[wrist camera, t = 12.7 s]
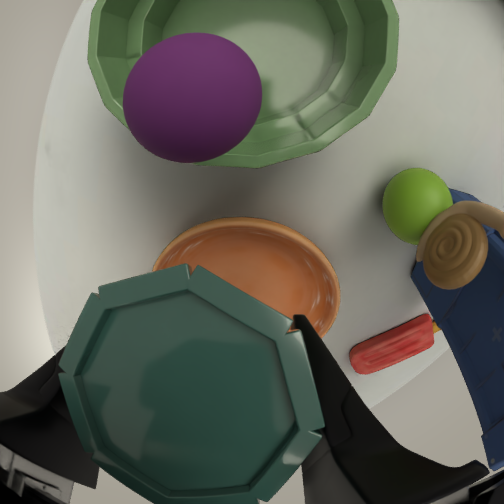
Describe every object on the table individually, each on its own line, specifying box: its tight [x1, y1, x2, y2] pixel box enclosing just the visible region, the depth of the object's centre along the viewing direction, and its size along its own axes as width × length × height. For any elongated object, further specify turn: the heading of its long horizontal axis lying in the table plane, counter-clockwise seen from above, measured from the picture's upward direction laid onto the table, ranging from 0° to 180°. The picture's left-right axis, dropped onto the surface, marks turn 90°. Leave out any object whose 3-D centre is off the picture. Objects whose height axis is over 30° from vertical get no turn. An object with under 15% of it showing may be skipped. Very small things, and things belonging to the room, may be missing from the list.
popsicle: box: [349, 314, 441, 374], centre depth 28 cm, size 6×1×15 cm
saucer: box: [152, 217, 340, 338], centre depth 24 cm, size 16×16×3 cm
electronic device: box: [411, 188, 504, 471], centre depth 13 cm, size 10×5×20 cm, turn 176°
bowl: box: [87, 0, 399, 168], centre depth 11 cm, size 14×14×7 cm
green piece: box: [58, 263, 325, 504], centre depth 11 cm, size 6×6×12 cm
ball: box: [123, 33, 262, 163], centre depth 7 cm, size 4×4×4 cm
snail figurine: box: [383, 168, 504, 290], centre depth 14 cm, size 5×6×12 cm
